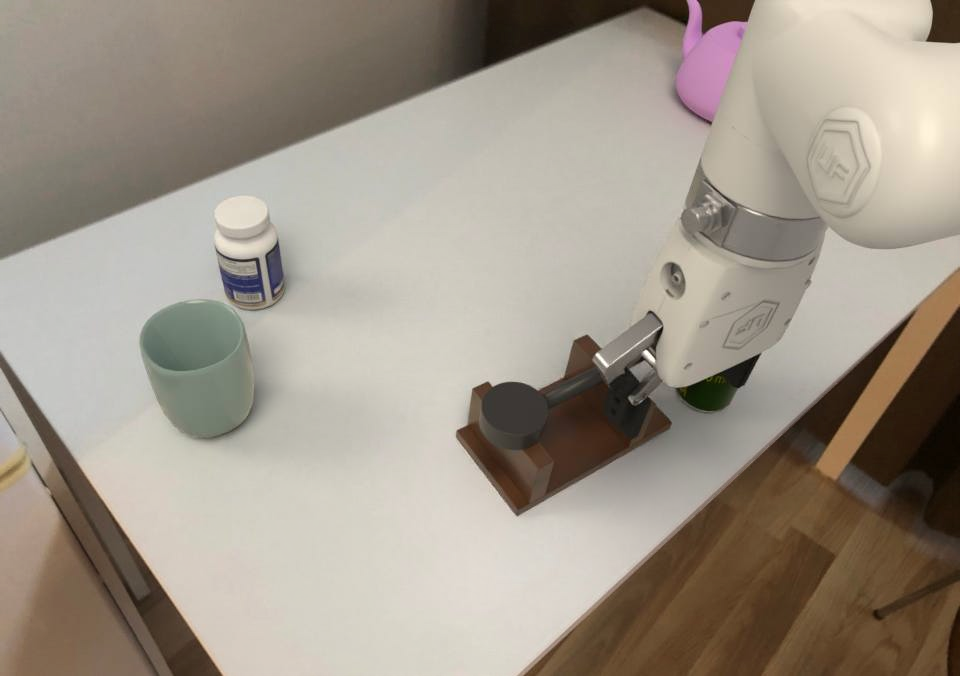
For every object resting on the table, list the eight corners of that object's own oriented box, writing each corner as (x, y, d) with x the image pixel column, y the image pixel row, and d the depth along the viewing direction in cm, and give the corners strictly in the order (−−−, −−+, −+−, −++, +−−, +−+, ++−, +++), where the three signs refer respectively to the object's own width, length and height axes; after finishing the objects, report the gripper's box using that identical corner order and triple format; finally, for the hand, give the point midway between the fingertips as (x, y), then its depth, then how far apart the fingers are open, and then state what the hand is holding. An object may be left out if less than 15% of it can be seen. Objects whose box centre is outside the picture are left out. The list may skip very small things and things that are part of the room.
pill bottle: (263, 263, 81) (251, 183, 73) (297, 294, 78) (288, 214, 71) (213, 288, 78) (195, 207, 70) (246, 321, 75) (231, 240, 68)
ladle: (689, 363, 68) (696, 347, 67) (504, 461, 60) (507, 446, 58) (648, 324, 71) (654, 308, 70) (466, 413, 63) (468, 397, 61)
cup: (155, 394, 68) (128, 314, 61) (245, 367, 71) (229, 287, 64) (177, 464, 64) (150, 386, 57) (272, 433, 67) (258, 354, 60)
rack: (670, 428, 71) (689, 386, 67) (516, 516, 64) (526, 475, 59) (605, 362, 76) (619, 318, 71) (455, 437, 68) (460, 393, 64)
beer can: (726, 374, 76) (771, 283, 67) (734, 419, 72) (782, 329, 64) (670, 367, 76) (708, 275, 67) (675, 412, 72) (716, 321, 63)
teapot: (804, 125, 108) (841, 43, 99) (743, 155, 102) (776, 70, 93) (693, 60, 118) (718, -20, 109) (631, 83, 112) (652, 1, 103)
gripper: (683, 295, 38) (608, 488, 50) (916, 201, 45) (799, 392, 57) (590, 204, 42) (542, 403, 54) (817, 131, 49) (728, 323, 61)
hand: (674, 397), depth 56 cm, fingers open, 9 cm apart
